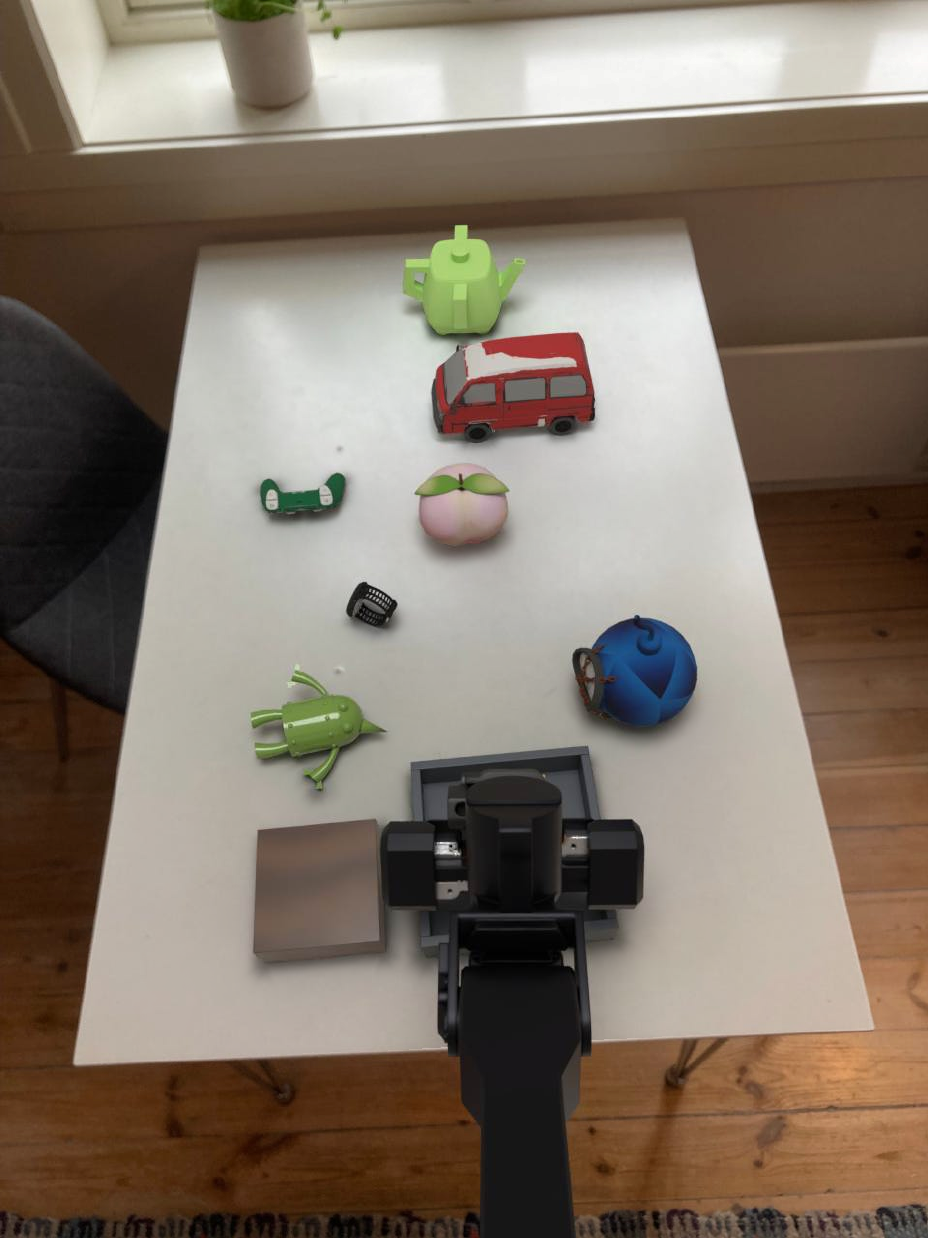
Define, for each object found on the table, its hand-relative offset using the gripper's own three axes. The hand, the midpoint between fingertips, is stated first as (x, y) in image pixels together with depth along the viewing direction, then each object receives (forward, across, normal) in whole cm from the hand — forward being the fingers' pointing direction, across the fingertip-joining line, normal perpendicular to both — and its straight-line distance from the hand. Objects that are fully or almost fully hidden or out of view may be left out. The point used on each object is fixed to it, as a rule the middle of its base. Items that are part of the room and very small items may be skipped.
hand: (509, 814), depth 74 cm
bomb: (+14, -12, -5) cm, 19 cm away
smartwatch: (+21, +13, -11) cm, 27 cm away
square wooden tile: (+1, +16, +8) cm, 18 cm away
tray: (+4, 0, +6) cm, 7 cm away
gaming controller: (+32, +22, -22) cm, 44 cm away
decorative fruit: (+28, +4, -19) cm, 34 cm away
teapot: (+52, +4, -43) cm, 68 cm away
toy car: (+40, -2, -30) cm, 50 cm away
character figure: (+12, +17, -2) cm, 21 cm away
